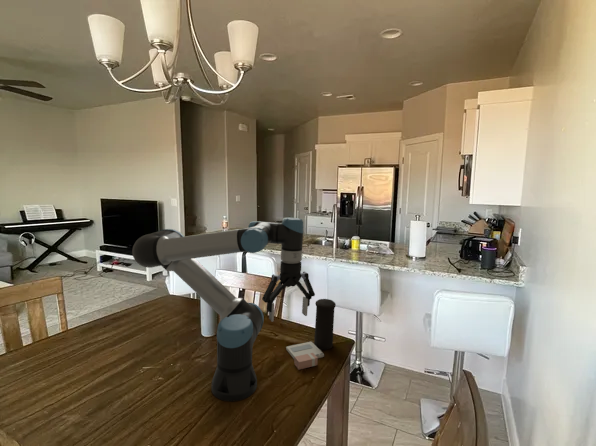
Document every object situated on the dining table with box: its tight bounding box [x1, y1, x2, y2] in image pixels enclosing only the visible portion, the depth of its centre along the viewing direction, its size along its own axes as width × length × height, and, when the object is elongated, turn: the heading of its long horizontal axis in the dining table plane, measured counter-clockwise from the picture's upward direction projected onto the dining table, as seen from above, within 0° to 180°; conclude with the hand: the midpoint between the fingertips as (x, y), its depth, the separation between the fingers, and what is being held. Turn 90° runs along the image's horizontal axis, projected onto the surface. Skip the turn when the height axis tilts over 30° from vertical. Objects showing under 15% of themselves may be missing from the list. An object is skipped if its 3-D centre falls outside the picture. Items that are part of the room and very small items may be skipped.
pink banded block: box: [293, 353, 319, 370], centre depth 124 cm, size 8×4×3 cm, turn 115°
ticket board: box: [285, 341, 325, 359], centre depth 132 cm, size 12×11×1 cm
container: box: [313, 298, 336, 351], centre depth 138 cm, size 9×9×20 cm
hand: (288, 317), depth 118 cm, fingers open, 13 cm apart
